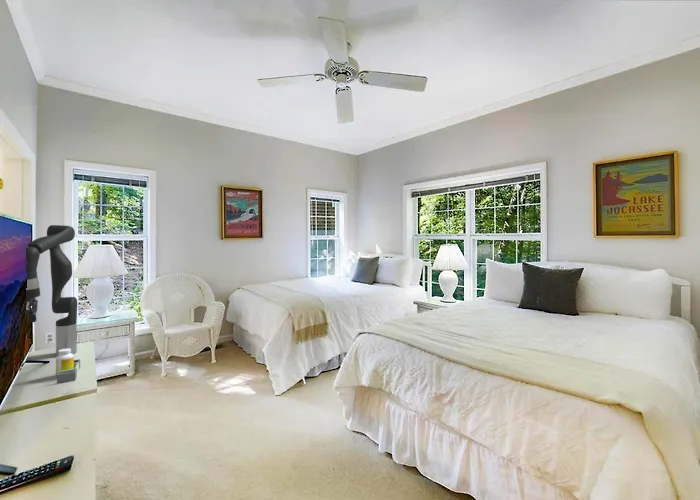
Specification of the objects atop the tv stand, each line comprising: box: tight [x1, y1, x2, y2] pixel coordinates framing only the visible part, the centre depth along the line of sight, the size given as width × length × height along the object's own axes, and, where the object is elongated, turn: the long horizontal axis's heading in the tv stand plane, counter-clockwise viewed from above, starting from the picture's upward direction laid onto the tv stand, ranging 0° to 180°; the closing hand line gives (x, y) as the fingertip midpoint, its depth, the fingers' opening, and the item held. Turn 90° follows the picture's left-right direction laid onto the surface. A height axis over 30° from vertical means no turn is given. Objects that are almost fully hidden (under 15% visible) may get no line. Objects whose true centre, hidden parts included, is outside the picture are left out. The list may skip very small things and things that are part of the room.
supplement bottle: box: [55, 348, 75, 378], centre depth 162 cm, size 7×7×13 cm
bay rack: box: [56, 359, 81, 384], centre depth 163 cm, size 20×6×4 cm, turn 34°
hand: (33, 321), depth 162 cm, fingers closed
